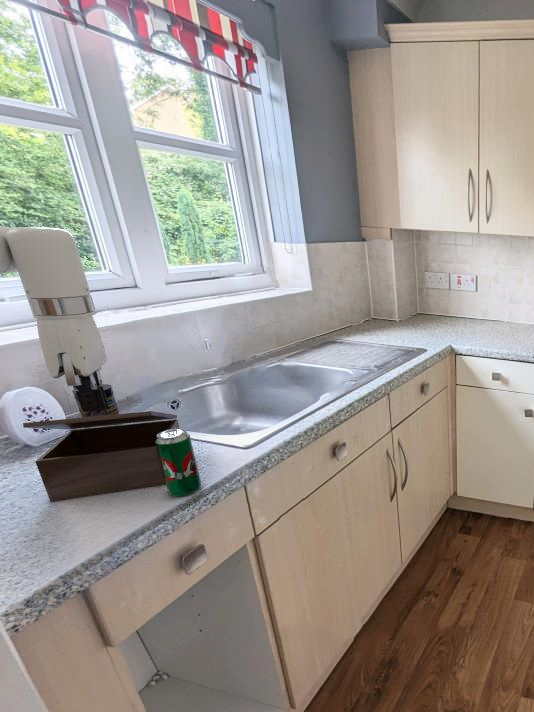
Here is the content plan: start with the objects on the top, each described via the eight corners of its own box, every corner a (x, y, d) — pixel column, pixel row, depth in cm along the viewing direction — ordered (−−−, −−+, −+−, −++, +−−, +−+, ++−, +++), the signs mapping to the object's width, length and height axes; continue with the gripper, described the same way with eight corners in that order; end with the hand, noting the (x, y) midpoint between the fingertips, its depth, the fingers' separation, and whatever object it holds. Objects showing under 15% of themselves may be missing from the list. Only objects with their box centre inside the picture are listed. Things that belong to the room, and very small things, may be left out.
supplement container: (126, 422, 113) (114, 382, 109) (120, 432, 107) (108, 391, 104) (89, 426, 109) (76, 386, 106) (81, 437, 104) (67, 395, 100)
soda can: (200, 481, 89) (187, 425, 85) (203, 492, 85) (189, 434, 81) (168, 489, 86) (152, 431, 82) (169, 501, 82) (153, 441, 78)
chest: (169, 484, 87) (159, 446, 85) (50, 501, 80) (34, 461, 78) (185, 452, 99) (177, 418, 97) (83, 465, 92) (71, 429, 90)
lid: (151, 415, 83) (151, 411, 83) (23, 427, 76) (22, 423, 76) (177, 418, 96) (176, 414, 97) (70, 429, 89) (70, 425, 89)
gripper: (54, 300, 80) (85, 398, 86) (7, 315, 67) (48, 428, 74) (109, 299, 83) (135, 393, 89) (73, 313, 70) (107, 422, 77)
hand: (95, 409), depth 81 cm, fingers closed
